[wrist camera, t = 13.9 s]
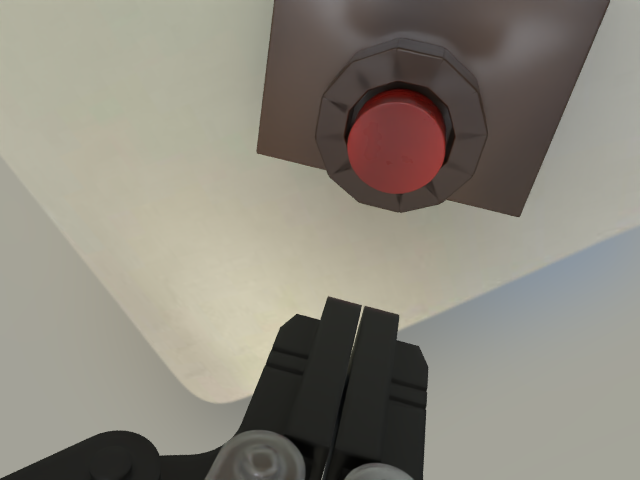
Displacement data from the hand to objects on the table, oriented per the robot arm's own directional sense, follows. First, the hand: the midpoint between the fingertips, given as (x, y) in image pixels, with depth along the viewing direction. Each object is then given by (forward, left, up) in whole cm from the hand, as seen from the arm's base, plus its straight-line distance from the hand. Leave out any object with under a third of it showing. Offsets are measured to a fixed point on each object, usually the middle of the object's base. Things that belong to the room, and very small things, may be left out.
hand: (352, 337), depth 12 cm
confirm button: (0, 0, -12) cm, 12 cm away
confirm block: (0, -2, -16) cm, 16 cm away
